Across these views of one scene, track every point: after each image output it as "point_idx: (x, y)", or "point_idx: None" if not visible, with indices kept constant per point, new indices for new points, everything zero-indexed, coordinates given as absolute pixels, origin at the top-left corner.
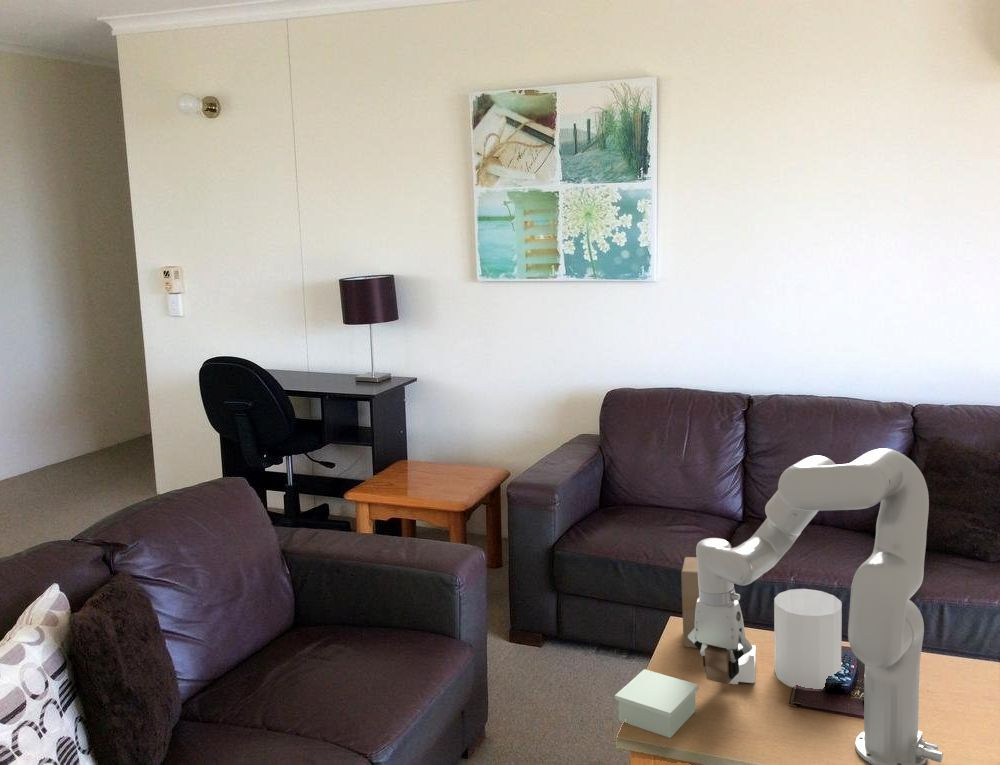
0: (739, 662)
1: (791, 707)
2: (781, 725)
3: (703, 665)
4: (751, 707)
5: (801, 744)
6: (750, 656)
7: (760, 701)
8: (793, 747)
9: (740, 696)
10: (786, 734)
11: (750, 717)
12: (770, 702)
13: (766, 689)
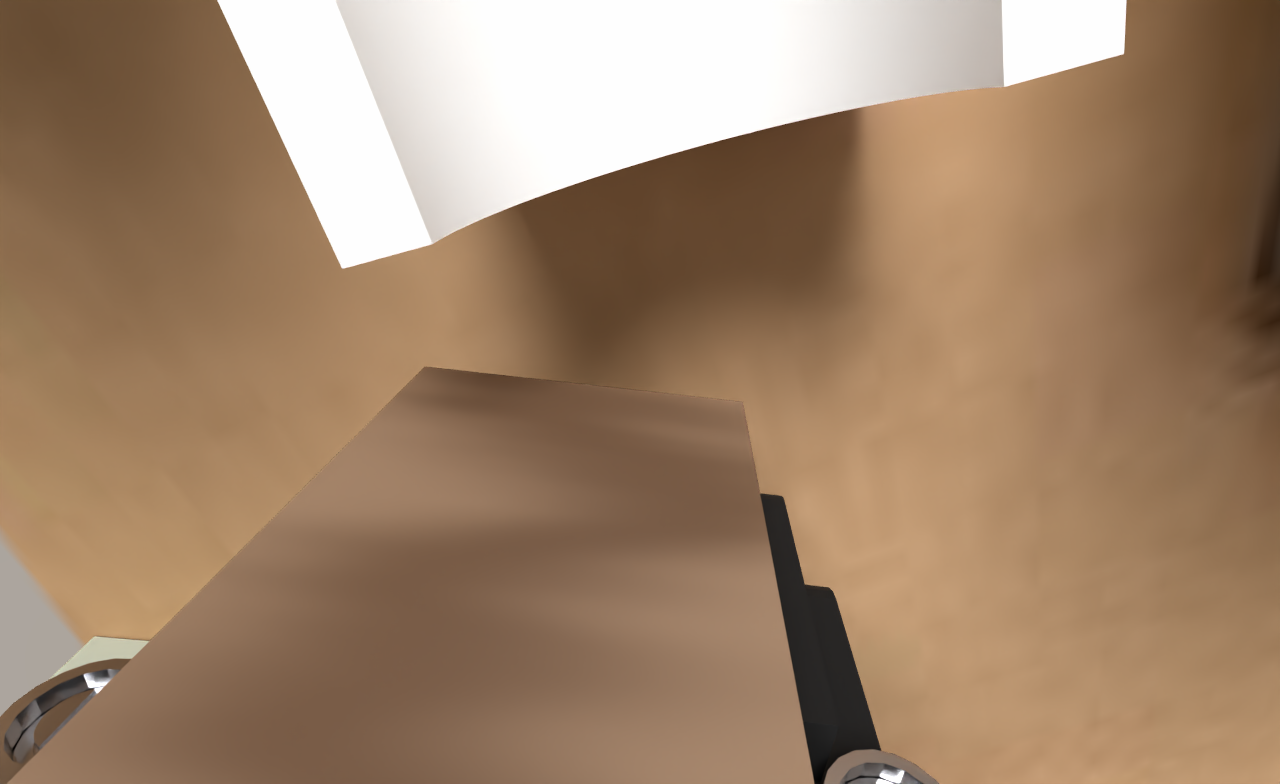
0: (693, 35)
1: (1270, 346)
2: (1147, 614)
3: None
4: (893, 486)
5: (1270, 741)
6: (1015, 80)
7: (963, 366)
8: (1210, 777)
9: (764, 360)
10: (1177, 688)
11: (904, 607)
12: (1061, 344)
13: (1012, 98)
